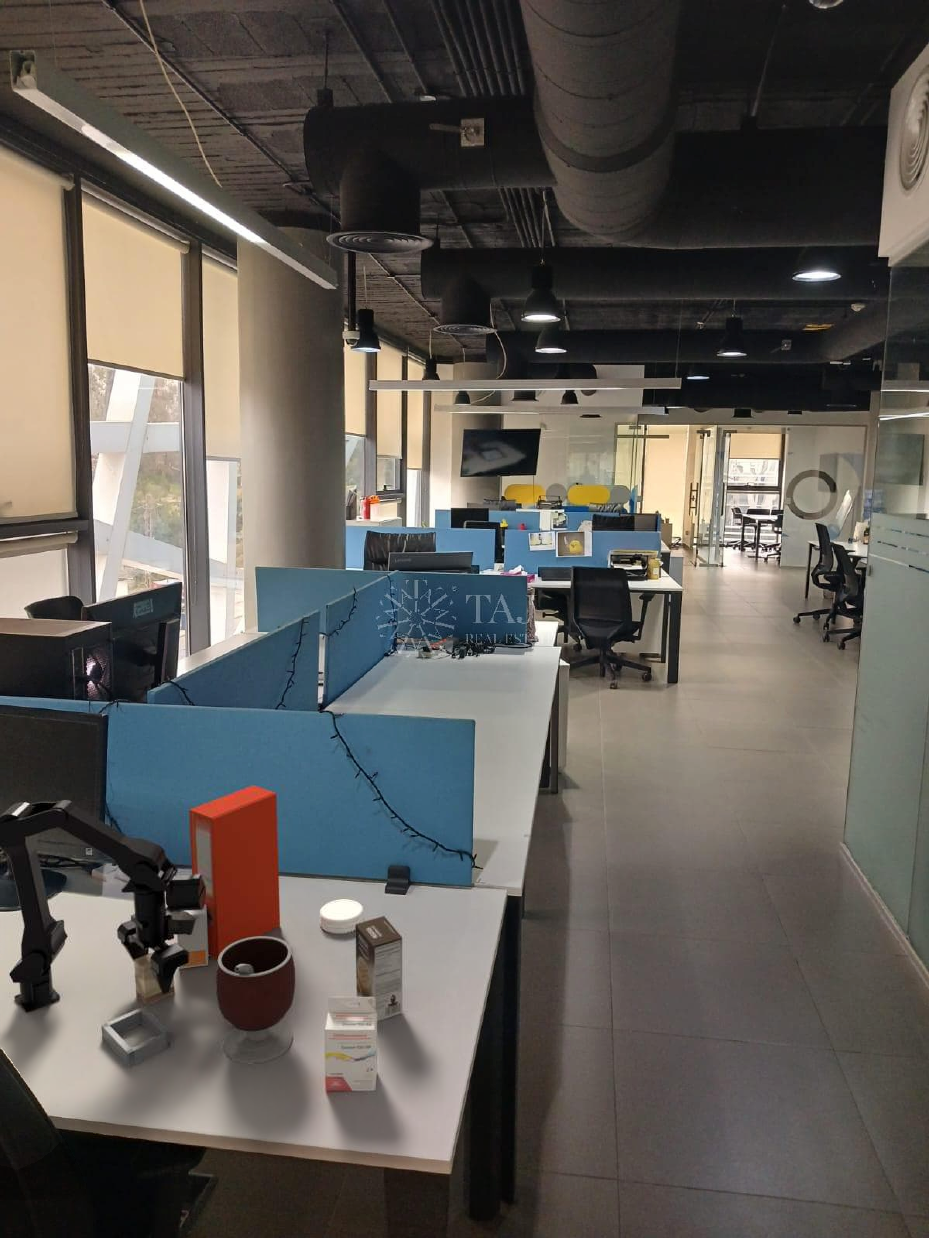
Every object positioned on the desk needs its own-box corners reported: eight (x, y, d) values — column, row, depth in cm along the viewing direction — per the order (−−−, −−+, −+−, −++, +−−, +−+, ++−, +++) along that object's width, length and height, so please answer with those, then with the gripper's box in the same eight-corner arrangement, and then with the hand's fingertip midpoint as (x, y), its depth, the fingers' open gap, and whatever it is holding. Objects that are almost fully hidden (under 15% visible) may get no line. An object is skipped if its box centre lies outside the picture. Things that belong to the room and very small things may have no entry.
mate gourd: (235, 1014, 167) (231, 917, 163) (306, 1019, 165) (303, 922, 162) (202, 1069, 152) (197, 964, 148) (280, 1076, 150) (276, 970, 146)
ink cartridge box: (324, 1092, 146) (322, 1013, 144) (328, 1072, 151) (326, 995, 149) (376, 1091, 147) (375, 1012, 144) (378, 1071, 151) (377, 994, 149)
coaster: (348, 939, 194) (347, 924, 193) (311, 928, 198) (310, 914, 197) (372, 918, 203) (371, 904, 202) (336, 908, 207) (335, 894, 206)
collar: (102, 1037, 160) (101, 1025, 159) (144, 1018, 165) (143, 1006, 165) (129, 1066, 152) (128, 1053, 152) (172, 1044, 158) (171, 1032, 157)
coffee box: (355, 997, 172) (353, 922, 169) (384, 988, 175) (383, 914, 172) (373, 1023, 164) (372, 945, 161) (404, 1013, 167) (403, 936, 164)
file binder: (281, 926, 198) (276, 792, 193) (220, 960, 185) (213, 818, 179) (256, 915, 203) (251, 784, 197) (195, 948, 189) (188, 809, 183)
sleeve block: (136, 996, 172) (133, 959, 171) (165, 984, 176) (162, 947, 175) (145, 1005, 169) (143, 968, 168) (174, 992, 174) (172, 955, 172)
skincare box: (178, 970, 181) (175, 916, 179) (179, 958, 185) (176, 906, 183) (209, 965, 183) (206, 912, 181) (209, 954, 187) (206, 903, 185)
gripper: (212, 912, 169) (216, 985, 172) (166, 880, 182) (170, 948, 184) (157, 934, 161) (162, 1010, 164) (113, 898, 174) (118, 970, 177)
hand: (154, 982), depth 172 cm, fingers open, 9 cm apart
